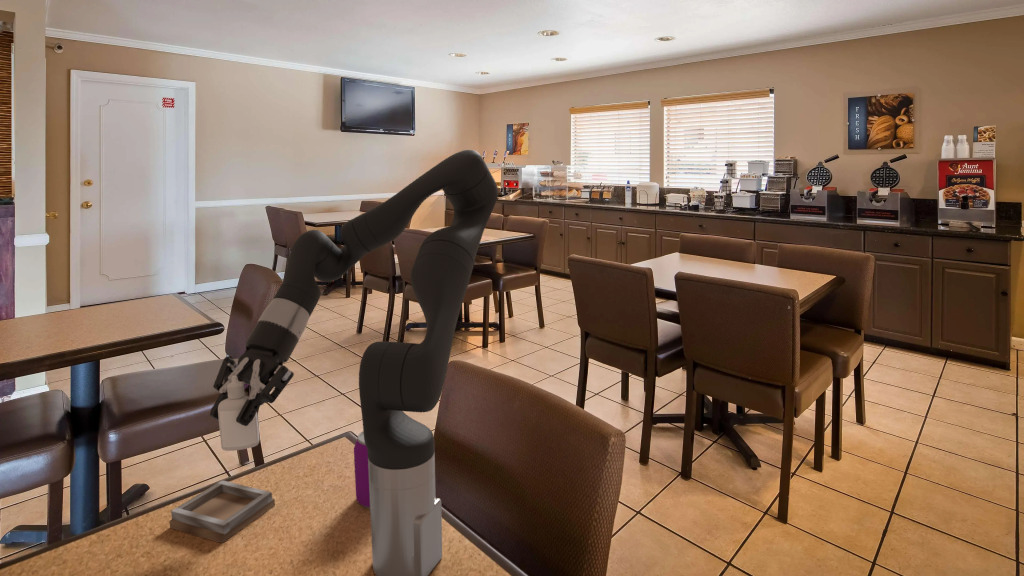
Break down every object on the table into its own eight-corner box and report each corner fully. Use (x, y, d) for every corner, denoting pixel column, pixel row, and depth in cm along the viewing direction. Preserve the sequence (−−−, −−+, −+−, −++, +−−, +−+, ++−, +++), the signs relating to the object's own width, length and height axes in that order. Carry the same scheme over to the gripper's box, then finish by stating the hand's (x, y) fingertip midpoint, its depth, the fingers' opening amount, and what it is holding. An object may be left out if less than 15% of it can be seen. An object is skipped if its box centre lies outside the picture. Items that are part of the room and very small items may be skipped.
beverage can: (386, 482, 104) (384, 421, 102) (409, 499, 99) (407, 435, 96) (348, 498, 99) (344, 434, 97) (370, 517, 94) (367, 450, 91)
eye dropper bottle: (248, 453, 90) (242, 382, 88) (216, 450, 91) (209, 380, 89) (264, 441, 95) (258, 372, 92) (233, 438, 95) (227, 371, 93)
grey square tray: (274, 505, 97) (273, 490, 96) (222, 543, 87) (220, 527, 86) (225, 492, 100) (224, 478, 100) (170, 527, 90) (168, 512, 90)
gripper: (322, 345, 99) (276, 437, 90) (260, 336, 104) (211, 422, 96) (299, 323, 93) (246, 419, 85) (234, 315, 99) (179, 404, 90)
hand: (228, 420), depth 90 cm, fingers closed on eye dropper bottle, 5 cm apart
